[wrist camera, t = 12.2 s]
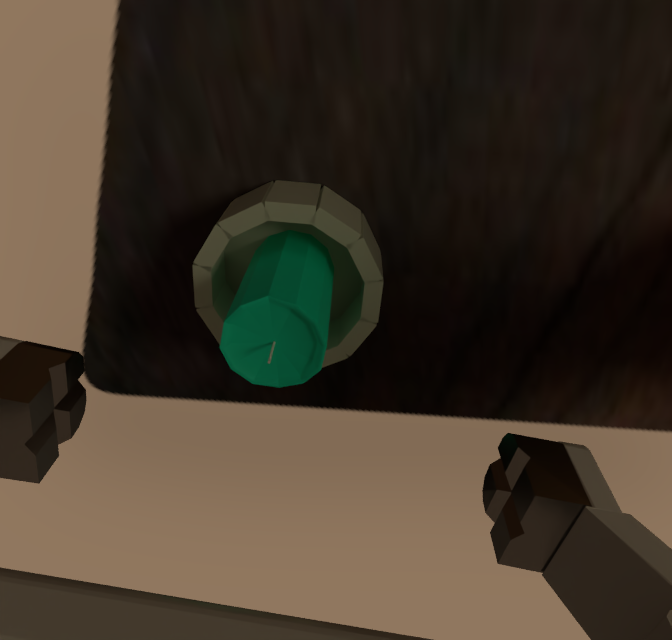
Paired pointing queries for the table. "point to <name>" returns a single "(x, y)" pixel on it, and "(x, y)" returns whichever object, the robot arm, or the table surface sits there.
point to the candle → (281, 312)
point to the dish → (307, 217)
